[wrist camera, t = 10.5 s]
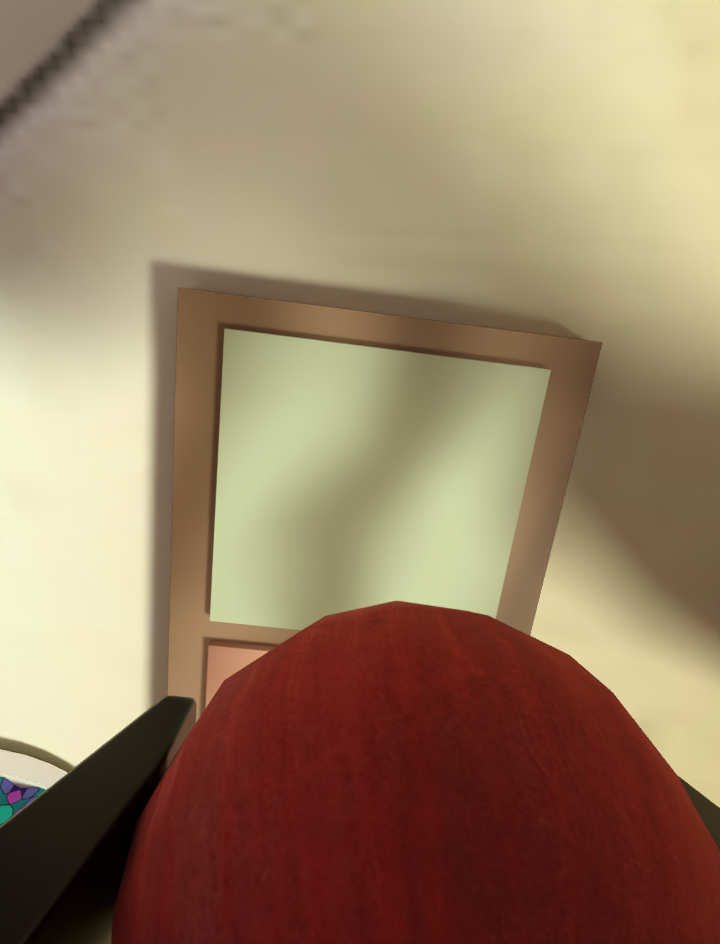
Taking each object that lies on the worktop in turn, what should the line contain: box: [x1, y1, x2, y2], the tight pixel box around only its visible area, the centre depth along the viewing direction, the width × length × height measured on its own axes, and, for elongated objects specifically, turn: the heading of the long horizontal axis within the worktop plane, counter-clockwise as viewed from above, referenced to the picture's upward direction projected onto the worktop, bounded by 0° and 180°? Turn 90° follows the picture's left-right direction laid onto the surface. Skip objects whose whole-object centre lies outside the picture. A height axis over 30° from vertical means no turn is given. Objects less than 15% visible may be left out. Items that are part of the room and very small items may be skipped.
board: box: [167, 288, 602, 722], centre depth 20 cm, size 13×23×2 cm, turn 173°
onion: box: [111, 600, 720, 944], centre depth 5 cm, size 6×6×8 cm
